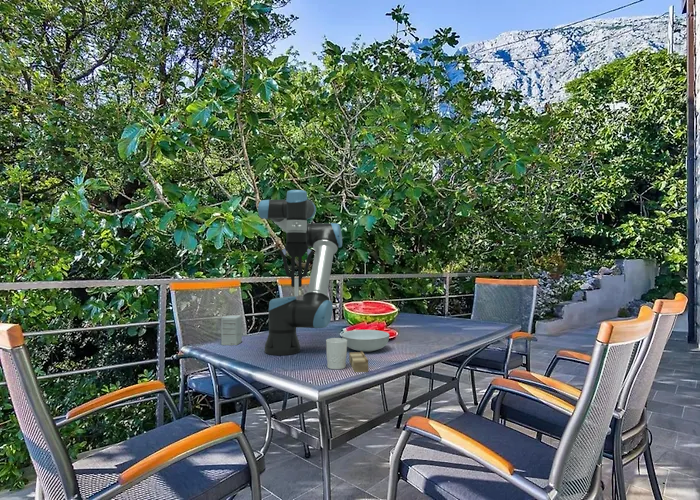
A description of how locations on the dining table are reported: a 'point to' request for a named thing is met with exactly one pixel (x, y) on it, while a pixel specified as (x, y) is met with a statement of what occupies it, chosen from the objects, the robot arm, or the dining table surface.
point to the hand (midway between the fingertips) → (296, 295)
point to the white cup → (336, 353)
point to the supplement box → (231, 330)
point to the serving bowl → (366, 339)
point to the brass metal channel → (358, 361)
